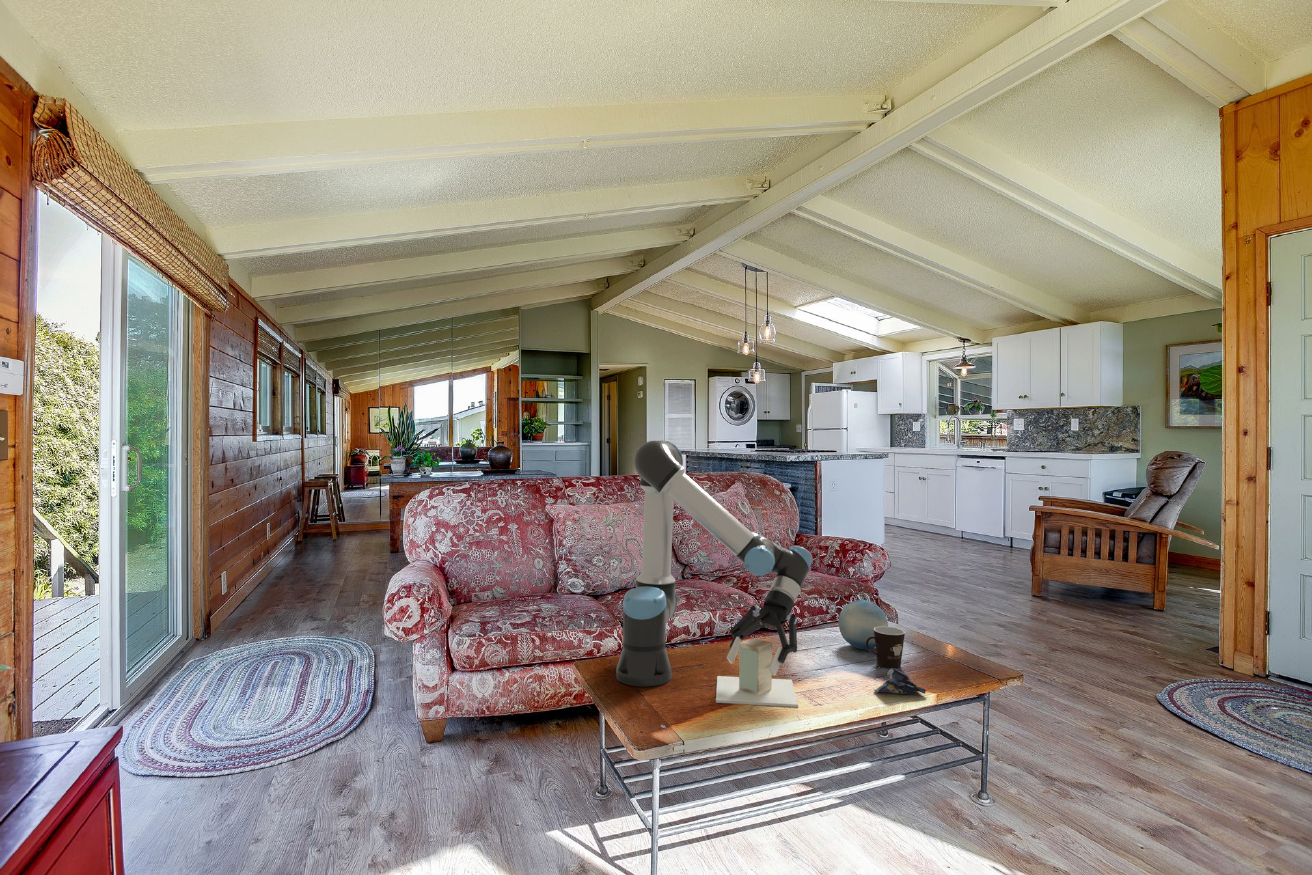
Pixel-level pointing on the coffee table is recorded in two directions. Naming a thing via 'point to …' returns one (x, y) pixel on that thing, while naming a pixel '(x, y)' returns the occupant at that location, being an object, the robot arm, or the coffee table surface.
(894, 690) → the snack package
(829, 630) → the coffee table surface
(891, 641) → the coffee mug
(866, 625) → the decorative ball
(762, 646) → the birch block
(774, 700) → the mat
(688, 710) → the coffee table surface
